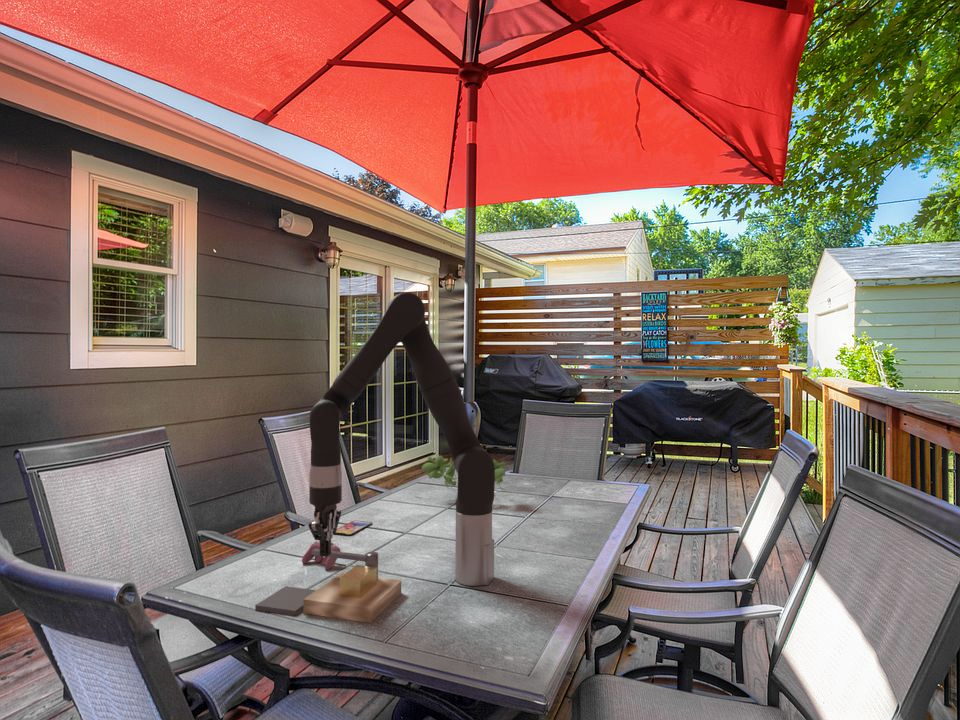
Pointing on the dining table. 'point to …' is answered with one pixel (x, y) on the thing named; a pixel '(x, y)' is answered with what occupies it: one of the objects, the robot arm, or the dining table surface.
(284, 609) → the mat
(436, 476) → the plant cuttings
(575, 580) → the dining table surface
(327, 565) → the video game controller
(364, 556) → the clamp lever
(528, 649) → the dining table surface
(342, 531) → the smartphone
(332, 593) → the base plate
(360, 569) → the brown rectangular block
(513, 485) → the dining table surface
